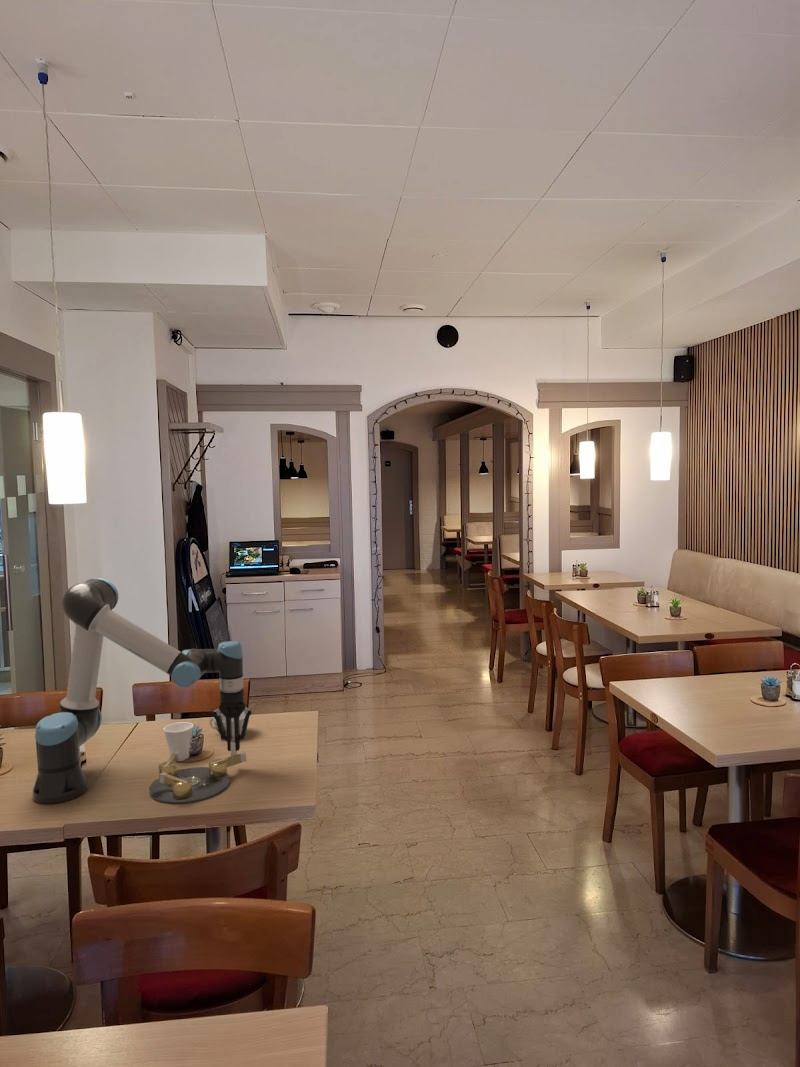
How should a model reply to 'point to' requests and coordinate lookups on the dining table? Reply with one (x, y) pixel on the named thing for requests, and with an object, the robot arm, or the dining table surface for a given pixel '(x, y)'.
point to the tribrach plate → (200, 786)
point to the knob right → (224, 765)
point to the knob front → (177, 785)
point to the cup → (179, 738)
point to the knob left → (170, 765)
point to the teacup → (241, 721)
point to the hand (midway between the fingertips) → (234, 759)
